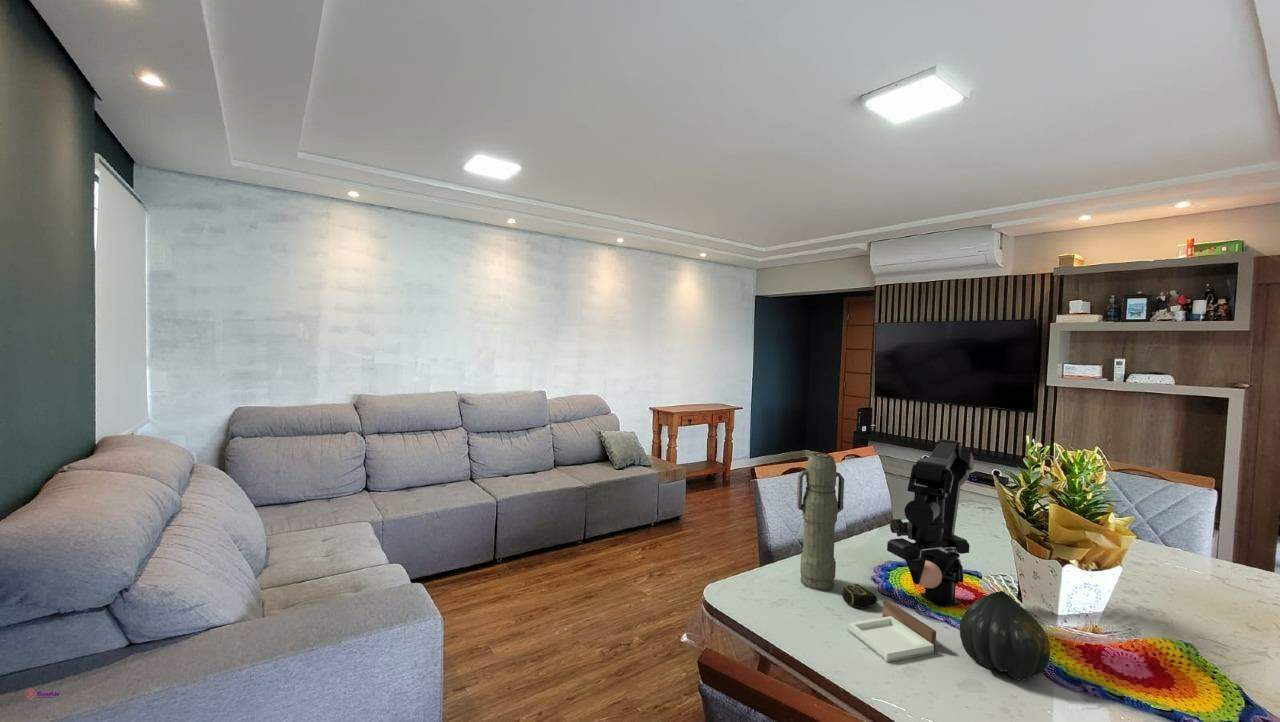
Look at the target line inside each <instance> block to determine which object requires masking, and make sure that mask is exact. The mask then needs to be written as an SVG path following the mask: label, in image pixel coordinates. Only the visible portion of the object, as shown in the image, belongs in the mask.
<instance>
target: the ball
mask: <svg viewBox="0 0 1280 722" xmlns="http://www.w3.org/2000/svg"><path fill="white" fill-rule="evenodd" d="M941 580H942V573H941V571H940V569H939V567H938V566H937V565H936V564H934V563H933V562H931V561H927V560H926V561H925V565H924V568H923V572H922V575H921V579H920V582H919V584H918V585H919V586H920V587H922V588H924V589H925V588H934V587H937V586H938V585H939V584H940V583H941Z"/></svg>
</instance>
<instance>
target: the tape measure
mask: <svg viewBox="0 0 1280 722" xmlns="http://www.w3.org/2000/svg"><path fill="white" fill-rule="evenodd" d="M841 596H842V598H843V601H844V602H845V603H847V605H850V606H853V607H855V608H861V609H864V608H865V609H866V608H869V607H871V606H874V605H876V604H877V601H878V599H877V598H878V597H877V596H876V595H875V594H874V593H873V592H872V591H870V590H868V589H867V588H865V587H863V586H861V585H860V584H858V583H854V584H846V585H845V586H844V587H843V590H842V594H841Z"/></svg>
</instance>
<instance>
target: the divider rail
mask: <svg viewBox="0 0 1280 722" xmlns="http://www.w3.org/2000/svg"><path fill="white" fill-rule="evenodd" d="M888 616H892V617H893V618H895V619H896V620H898V621H899V622H901V623H902V624H903V625H905V626H906V627H908V628H909V629H911V630H912V631H914V632H915V633H917V634H918V635H920V636H921V637H923V638H924V639H926V640H927V641H929V642H930V643H932V644H933V645H934V651H936V644H937V630H935V629H934V628H932V627H931V626H929V625H928V624H926V623H924V622H923V621H921V620H920V619H918V618H917V617H915V616H914V615H912V614H910V613H908V612H907V611H906V610H904V609H902V607H899V605H896V604H895V603H893V602H892V601H890V600H889V599H885V600H884V599H883V600H882V617H888Z"/></svg>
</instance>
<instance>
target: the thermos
mask: <svg viewBox="0 0 1280 722" xmlns="http://www.w3.org/2000/svg"><path fill="white" fill-rule="evenodd" d="M804 477H805V483H806V486H805V491H804V494H803V486H804V485H803V482H804V481H803V480H804V479H803V478H804ZM837 477H838V484H837ZM836 485H837V487H838V489H837V491H836ZM836 492H837V493H836ZM844 492H845V478H844V477H843V475H842V474H841V473H840V472H837V465H836V461H835V458H834V456H833V455H832V454H829V453H824V452H823V453H822V452H814V453H812V454H810V455H809V456H808V459H807V463H806V468H805V469H804V470H801V471H800V472H799V474H797V494H796V502H797V503H796V505H797V509H798V510H799V511H802V519H803V545H802V547H803V548H802V552H801V555H800V565H799V566H800V568H799V569H800V570H799V571H800V572H799V573H800V583H801V584H802V585H803V586H805V587H806V588H808V589H811V590H815V591H822V592H823V591H826V592H827V591H830V590H833V589H834V588H835V578H836V571H837V570H836V566H837V562H836V559H835V538H836V537H835V533H836V523H837V522H838V514H839V513H841V512H842V511H843V510H844V495H845V493H844ZM836 494H837V495H836Z"/></svg>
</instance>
